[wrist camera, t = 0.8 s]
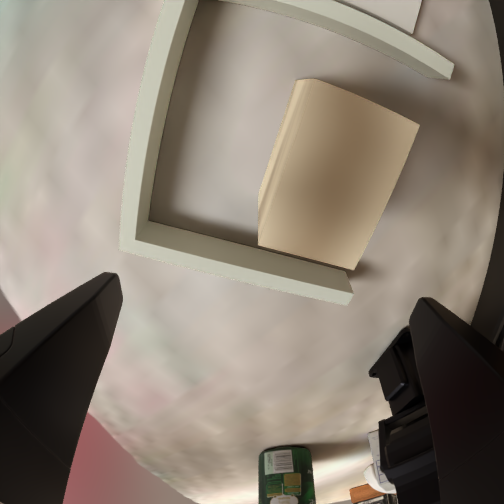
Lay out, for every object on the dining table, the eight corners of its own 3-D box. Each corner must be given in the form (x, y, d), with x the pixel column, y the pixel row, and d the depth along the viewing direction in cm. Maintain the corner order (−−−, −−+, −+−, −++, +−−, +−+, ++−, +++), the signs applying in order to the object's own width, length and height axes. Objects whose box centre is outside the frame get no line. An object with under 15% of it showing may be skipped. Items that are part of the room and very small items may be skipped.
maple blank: (370, 108, 15) (419, 125, 10) (328, 214, 18) (353, 270, 13) (295, 80, 14) (314, 78, 9) (258, 193, 18) (258, 245, 13)
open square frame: (431, 64, 13) (454, 64, 11) (339, 282, 21) (346, 305, 19) (188, -19, 11) (176, -34, 9) (132, 230, 19) (118, 250, 17)
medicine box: (366, 432, 35) (376, 486, 27) (397, 421, 33) (410, 475, 26) (376, 446, 38) (385, 492, 31) (403, 437, 37) (414, 483, 30)
